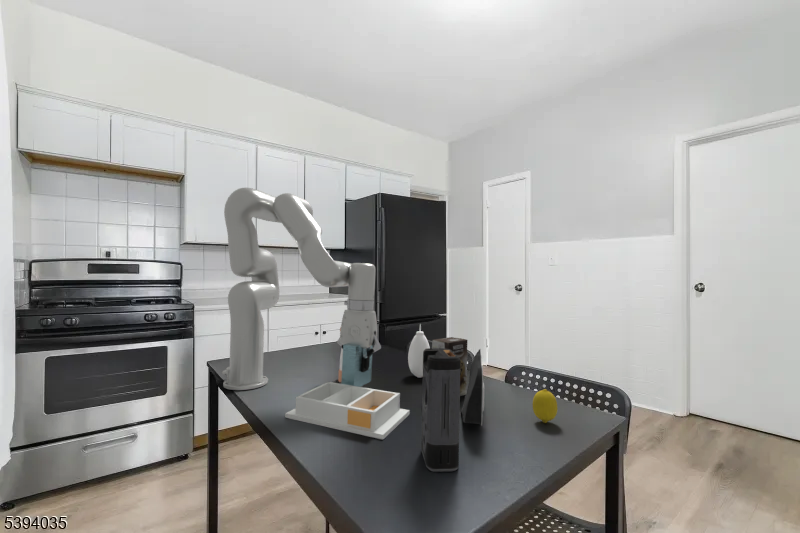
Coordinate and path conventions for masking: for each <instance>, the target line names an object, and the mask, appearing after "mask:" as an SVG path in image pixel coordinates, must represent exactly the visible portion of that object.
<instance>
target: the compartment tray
mask: <svg viewBox="0 0 800 533" xmlns="http://www.w3.org/2000/svg"><path fill="white" fill-rule="evenodd" d="M400 398H401V393H400V392H393V391H389V390H388V391H387V390H383V389H374V388H371V387H370V388H369V387H363V386H361V387H358V386H352V385H346V384H341V382H339V383H338V382H332V381H328V382H325V383H323V384H321V385H319V386H317V387H315V388H313V389H311V390H308V391H305V392H304V393H302V394H299V395H297V396H296V397H295V408H293V409H291V410H289V411H287V412H285V415H284V416H285V418H287V419H290V420H294V421H298V422H299V421H300V422H304V423H308V424H312V425H317V426H322V427H324V428H325V427H327V428H330V429H334V430H339V431H343V432H347V433H352V434H355V435H356V434H357V435H362V436H365V437H370V438H373V439H374V438H375V439H378V440H384V439H385V438H387V437H388V436H389V435H390V434H391V433H392V432H393V431H394V430H395V429H396V428H397V427H398V426H399V425H400V424H401V423H402V422H403V421H404V420H405V419H406V418H408V416H410V413H411V412H410V411H411V410H410V409H405V408H401V402H400V401H401V399H400Z"/></svg>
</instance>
